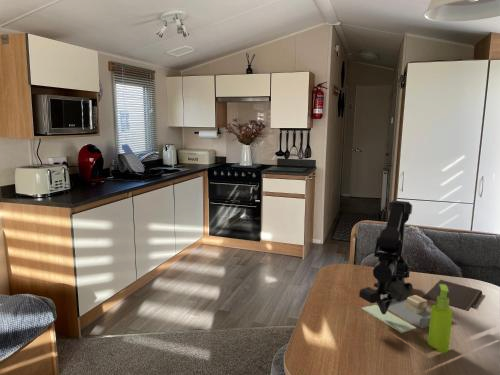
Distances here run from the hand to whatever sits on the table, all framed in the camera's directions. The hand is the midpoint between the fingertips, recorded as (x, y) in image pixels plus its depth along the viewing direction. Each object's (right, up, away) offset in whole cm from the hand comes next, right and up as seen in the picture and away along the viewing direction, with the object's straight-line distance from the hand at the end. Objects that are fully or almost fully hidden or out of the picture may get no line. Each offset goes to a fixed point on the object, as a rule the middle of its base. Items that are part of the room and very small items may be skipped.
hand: (383, 313), depth 130 cm
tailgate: (+5, -3, +3) cm, 7 cm away
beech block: (+15, -1, +8) cm, 17 cm away
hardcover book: (+35, -1, +21) cm, 41 cm away
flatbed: (+12, -3, +7) cm, 14 cm away
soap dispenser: (+12, -6, -13) cm, 19 cm away
